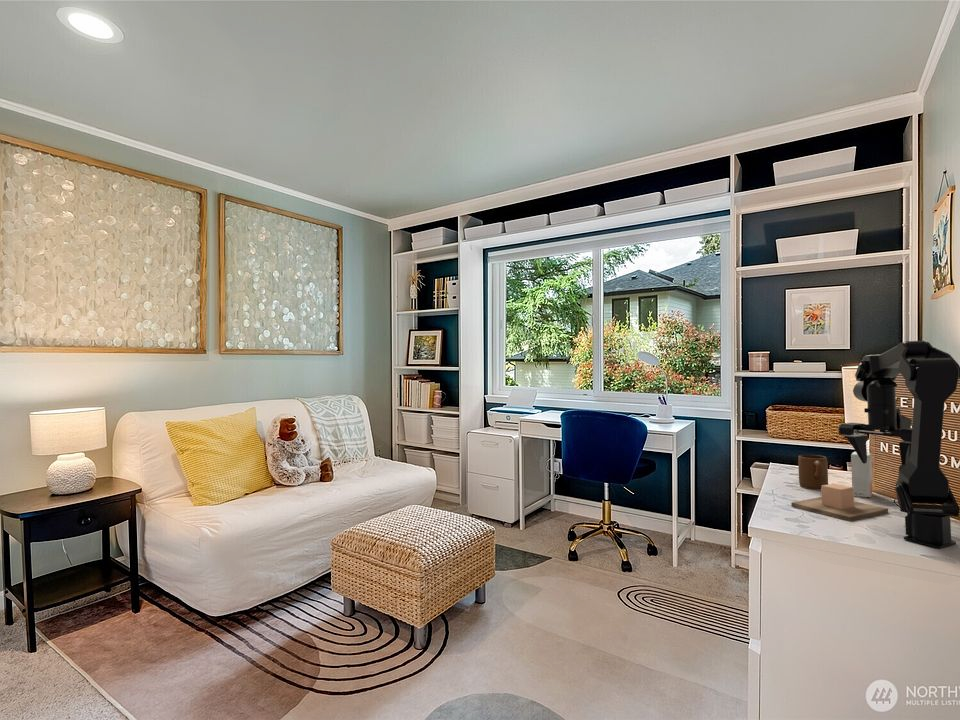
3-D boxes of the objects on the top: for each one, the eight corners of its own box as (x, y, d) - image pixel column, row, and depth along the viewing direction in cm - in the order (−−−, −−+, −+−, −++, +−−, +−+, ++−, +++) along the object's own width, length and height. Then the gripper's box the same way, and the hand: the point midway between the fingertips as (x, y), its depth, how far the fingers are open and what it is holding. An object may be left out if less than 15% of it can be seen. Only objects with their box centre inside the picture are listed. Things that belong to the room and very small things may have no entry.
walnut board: (888, 512, 129) (887, 508, 129) (849, 521, 124) (849, 516, 124) (828, 499, 143) (828, 495, 143) (791, 506, 138) (791, 502, 138)
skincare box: (870, 498, 143) (869, 455, 143) (852, 496, 146) (850, 454, 146) (873, 493, 147) (871, 452, 148) (855, 491, 150) (853, 451, 150)
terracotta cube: (854, 506, 132) (853, 487, 132) (841, 509, 130) (840, 489, 130) (834, 502, 137) (833, 483, 137) (822, 504, 135) (821, 485, 135)
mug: (836, 494, 148) (835, 461, 149) (806, 492, 151) (805, 461, 151) (824, 484, 160) (823, 454, 160) (796, 483, 162) (795, 454, 162)
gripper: (945, 404, 123) (948, 469, 123) (862, 400, 141) (864, 457, 140) (917, 407, 119) (920, 474, 119) (835, 403, 136) (838, 461, 136)
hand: (884, 466), depth 129 cm, fingers open, 9 cm apart
